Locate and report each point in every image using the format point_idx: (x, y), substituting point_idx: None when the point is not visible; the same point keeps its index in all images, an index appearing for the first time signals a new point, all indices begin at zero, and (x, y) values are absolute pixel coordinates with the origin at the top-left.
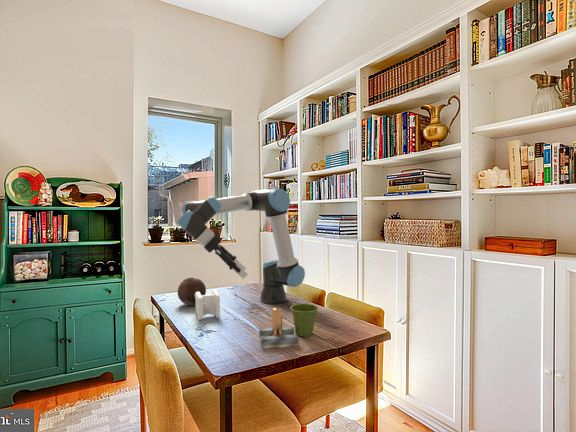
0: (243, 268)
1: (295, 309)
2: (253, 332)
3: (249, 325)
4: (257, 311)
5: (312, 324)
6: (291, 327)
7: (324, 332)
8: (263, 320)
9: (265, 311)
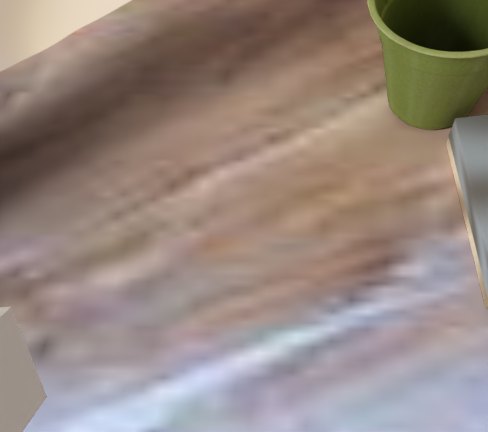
0: (2, 364)
1: (401, 53)
2: (406, 342)
3: (279, 366)
4: (40, 315)
5: (476, 24)
6: (470, 124)
7: None
8: (204, 282)
9: (55, 269)
